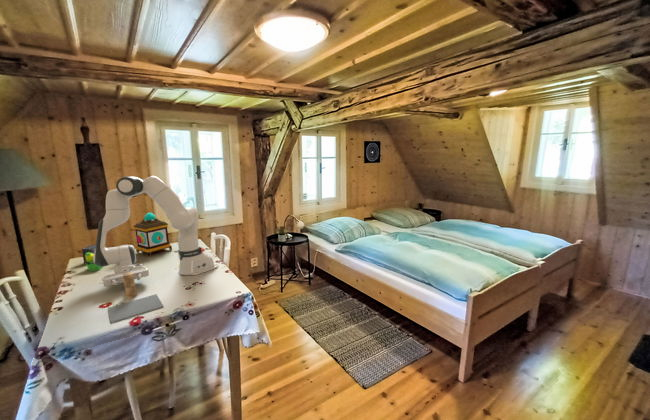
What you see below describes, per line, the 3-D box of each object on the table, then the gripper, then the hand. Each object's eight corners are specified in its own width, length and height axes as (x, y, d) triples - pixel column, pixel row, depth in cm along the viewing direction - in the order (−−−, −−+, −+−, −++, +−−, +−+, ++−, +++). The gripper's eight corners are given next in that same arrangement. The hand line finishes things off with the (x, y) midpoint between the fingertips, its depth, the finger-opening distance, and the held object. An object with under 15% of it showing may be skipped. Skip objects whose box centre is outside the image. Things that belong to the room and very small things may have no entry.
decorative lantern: (147, 258, 202) (141, 216, 197) (133, 253, 213) (127, 213, 207) (175, 250, 219) (170, 211, 214) (160, 246, 229) (155, 209, 224)
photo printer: (118, 264, 192) (115, 246, 190) (121, 261, 196) (119, 244, 194) (134, 263, 193) (131, 245, 191) (137, 261, 197) (135, 243, 195)
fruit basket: (101, 270, 182) (98, 253, 180) (84, 272, 179) (80, 255, 177) (107, 264, 192) (104, 248, 190) (91, 266, 189) (88, 250, 187)
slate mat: (156, 295, 147) (156, 294, 147) (163, 307, 135) (163, 306, 135) (108, 308, 135) (108, 307, 135) (111, 323, 123) (111, 322, 123)
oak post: (135, 293, 150) (132, 271, 148) (136, 296, 147) (133, 273, 145) (126, 295, 147) (122, 273, 145) (127, 298, 144) (123, 276, 142)
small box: (91, 264, 193) (88, 249, 192) (83, 263, 195) (80, 248, 193) (106, 258, 204) (103, 244, 202) (98, 258, 205) (95, 243, 203)
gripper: (100, 272, 153) (102, 281, 142) (145, 263, 166) (149, 270, 155) (102, 283, 154) (104, 292, 144) (146, 273, 167) (151, 281, 156)
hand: (128, 280), depth 149 cm, fingers open, 8 cm apart
